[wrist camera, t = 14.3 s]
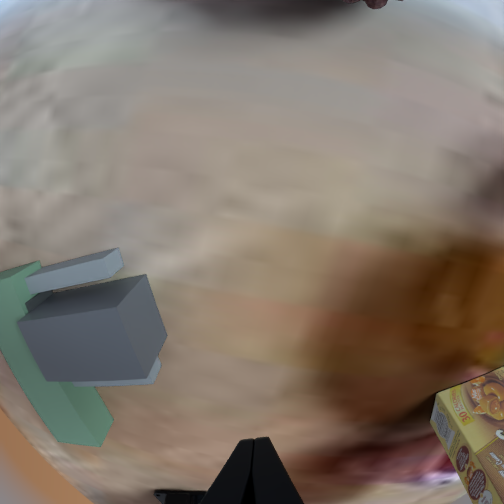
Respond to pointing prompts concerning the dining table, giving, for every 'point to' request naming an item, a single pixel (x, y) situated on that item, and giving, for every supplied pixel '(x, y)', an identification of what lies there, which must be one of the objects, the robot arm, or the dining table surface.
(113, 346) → the slate gray cuboid
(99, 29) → the dining table surface
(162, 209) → the dining table surface
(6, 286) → the green and blue-gray block
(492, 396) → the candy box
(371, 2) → the pine cone
